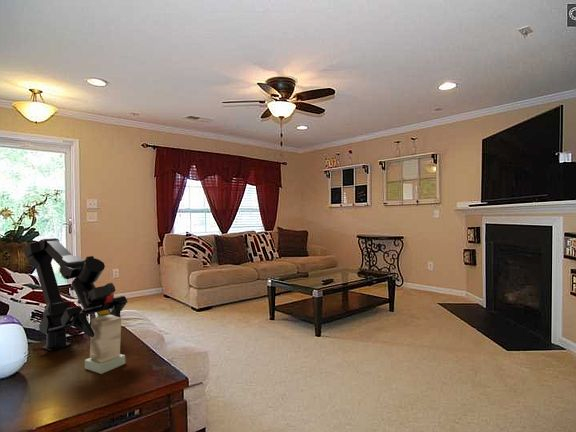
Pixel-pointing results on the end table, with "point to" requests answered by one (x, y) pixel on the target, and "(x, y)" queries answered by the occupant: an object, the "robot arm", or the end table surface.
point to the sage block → (104, 364)
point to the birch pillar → (105, 338)
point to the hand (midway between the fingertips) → (107, 332)
